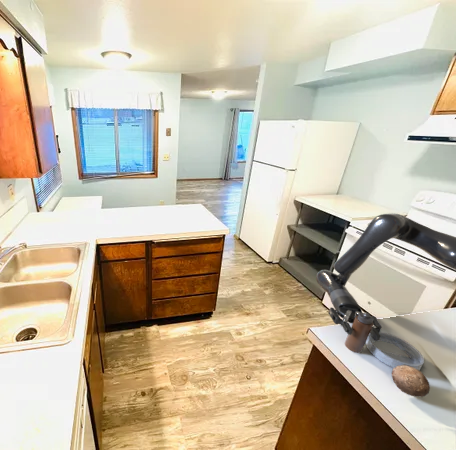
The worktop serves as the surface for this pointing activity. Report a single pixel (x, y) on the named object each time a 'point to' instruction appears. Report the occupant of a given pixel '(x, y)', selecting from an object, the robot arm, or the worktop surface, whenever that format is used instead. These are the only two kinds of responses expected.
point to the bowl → (392, 358)
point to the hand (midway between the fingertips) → (363, 335)
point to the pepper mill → (359, 332)
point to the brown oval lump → (410, 381)
